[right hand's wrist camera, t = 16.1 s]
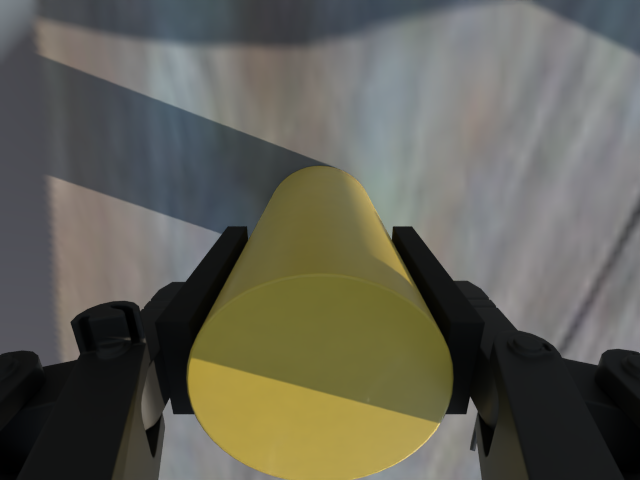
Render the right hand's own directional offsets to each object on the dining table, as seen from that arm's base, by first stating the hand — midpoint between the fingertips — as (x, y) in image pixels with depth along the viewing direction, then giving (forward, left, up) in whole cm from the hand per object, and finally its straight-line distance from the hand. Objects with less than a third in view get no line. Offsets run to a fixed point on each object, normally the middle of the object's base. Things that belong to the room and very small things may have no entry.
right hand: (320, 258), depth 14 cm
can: (0, 0, -6) cm, 6 cm away
